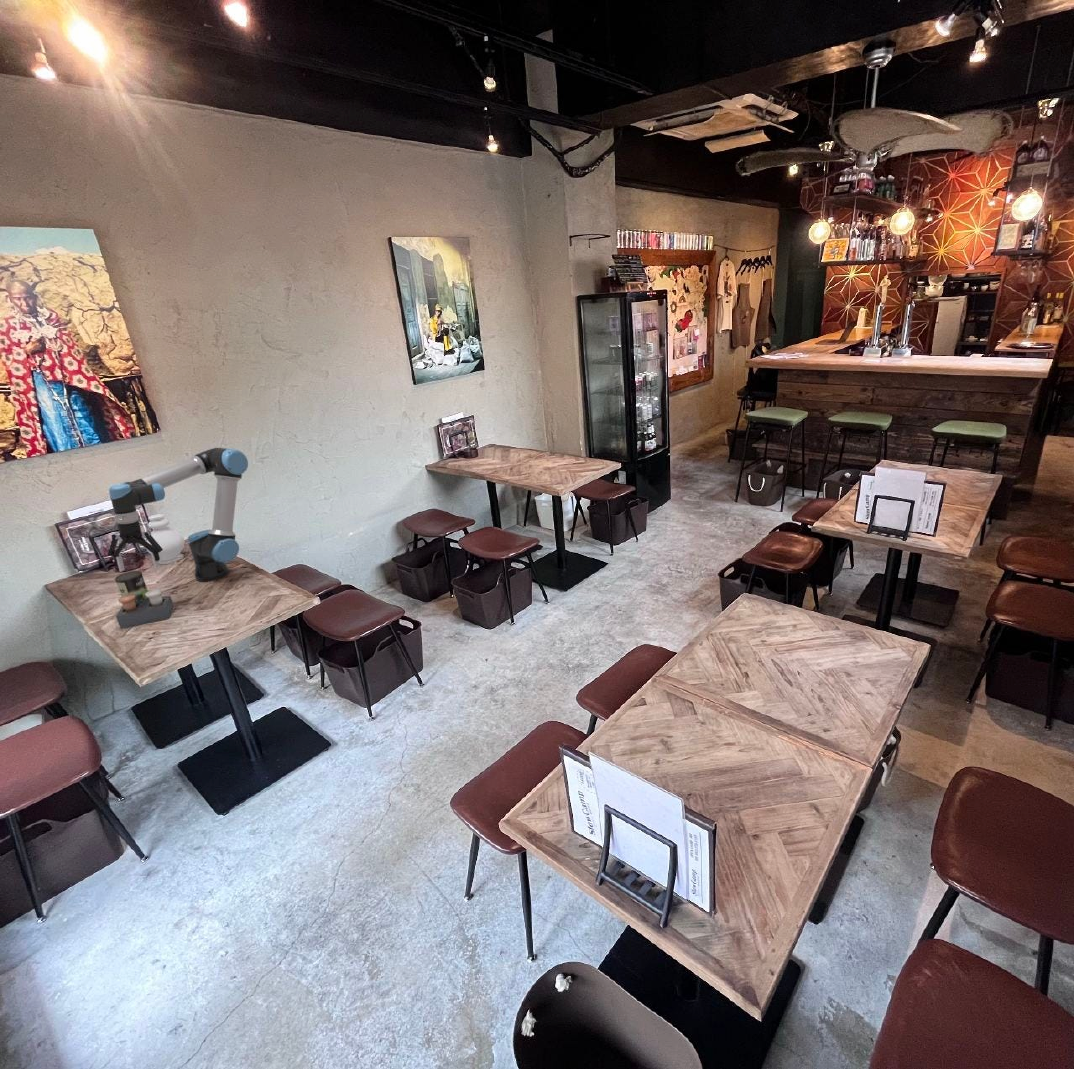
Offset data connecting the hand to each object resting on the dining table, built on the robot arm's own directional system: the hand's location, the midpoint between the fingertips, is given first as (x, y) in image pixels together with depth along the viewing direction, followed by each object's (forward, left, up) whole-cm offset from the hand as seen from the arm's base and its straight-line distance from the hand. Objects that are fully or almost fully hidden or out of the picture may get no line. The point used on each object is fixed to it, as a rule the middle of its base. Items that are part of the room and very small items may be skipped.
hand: (139, 569), depth 247 cm
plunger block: (+2, +3, -21) cm, 22 cm away
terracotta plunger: (+7, +3, -17) cm, 19 cm away
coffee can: (+10, -16, -22) cm, 29 cm away
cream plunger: (-3, +3, -17) cm, 17 cm away
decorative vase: (+6, -69, -22) cm, 73 cm away
